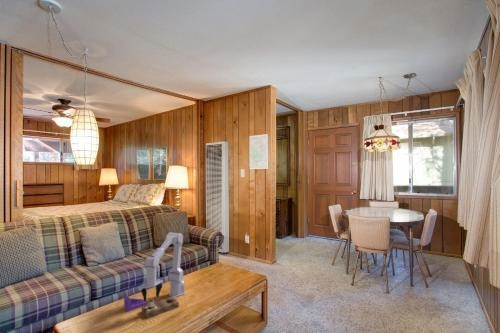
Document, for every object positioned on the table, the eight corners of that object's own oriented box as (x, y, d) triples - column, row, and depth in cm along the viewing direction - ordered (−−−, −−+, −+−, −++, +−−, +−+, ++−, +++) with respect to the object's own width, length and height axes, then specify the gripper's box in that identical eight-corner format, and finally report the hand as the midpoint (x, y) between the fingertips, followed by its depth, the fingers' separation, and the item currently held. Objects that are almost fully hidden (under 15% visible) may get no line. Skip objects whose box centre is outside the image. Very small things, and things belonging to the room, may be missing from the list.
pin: (154, 310, 163) (154, 298, 163) (154, 313, 160) (154, 300, 160) (149, 311, 162) (149, 298, 162) (149, 314, 159) (149, 301, 159)
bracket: (127, 312, 162) (128, 301, 162) (124, 308, 167) (124, 297, 167) (147, 305, 170) (147, 294, 170) (142, 301, 175) (142, 291, 175)
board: (171, 301, 175) (171, 296, 175) (178, 307, 168) (178, 302, 168) (141, 311, 162) (141, 306, 162) (147, 318, 155) (147, 313, 155)
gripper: (160, 271, 169) (160, 292, 169) (137, 277, 159) (137, 299, 159) (164, 275, 164) (164, 296, 164) (141, 281, 154) (141, 304, 154)
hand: (151, 298), depth 161 cm, fingers open, 7 cm apart
